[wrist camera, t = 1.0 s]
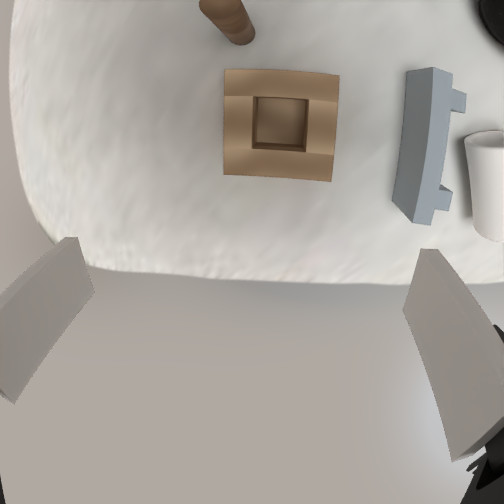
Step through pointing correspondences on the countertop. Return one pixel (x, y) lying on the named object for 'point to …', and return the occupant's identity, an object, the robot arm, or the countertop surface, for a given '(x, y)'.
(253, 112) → the block
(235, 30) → the dowel
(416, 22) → the countertop surface
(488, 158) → the mug
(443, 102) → the backstop wall
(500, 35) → the bottle
